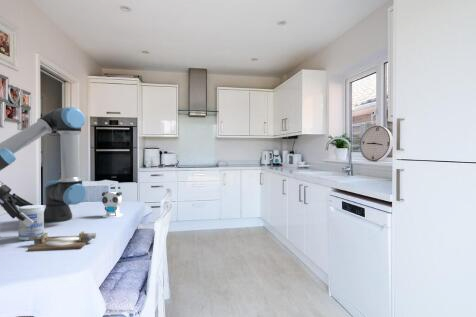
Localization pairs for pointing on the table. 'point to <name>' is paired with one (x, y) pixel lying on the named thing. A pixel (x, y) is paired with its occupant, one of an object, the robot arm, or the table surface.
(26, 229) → the supplement tub
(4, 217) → the table surface
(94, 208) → the table surface
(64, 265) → the table surface
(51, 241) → the shaft board
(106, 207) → the panda figurine
